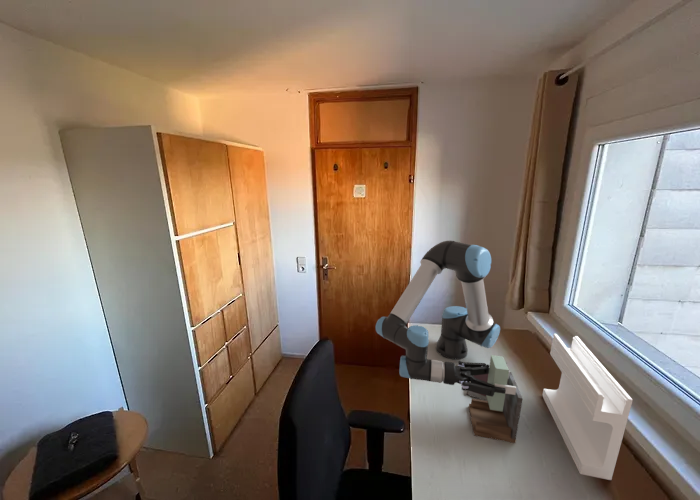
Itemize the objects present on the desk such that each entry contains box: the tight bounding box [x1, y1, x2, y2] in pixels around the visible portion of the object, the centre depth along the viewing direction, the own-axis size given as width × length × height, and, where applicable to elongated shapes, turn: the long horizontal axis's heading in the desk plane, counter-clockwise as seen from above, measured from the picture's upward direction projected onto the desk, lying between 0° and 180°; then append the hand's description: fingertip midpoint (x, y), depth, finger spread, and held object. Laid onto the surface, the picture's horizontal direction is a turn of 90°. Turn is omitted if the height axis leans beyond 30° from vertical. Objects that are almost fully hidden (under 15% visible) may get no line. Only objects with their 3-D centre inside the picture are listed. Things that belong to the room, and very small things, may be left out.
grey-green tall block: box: [486, 354, 510, 412], centre depth 109 cm, size 8×4×16 cm, turn 167°
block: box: [542, 333, 634, 481], centre depth 107 cm, size 35×8×28 cm, turn 166°
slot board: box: [468, 371, 524, 444], centre depth 111 cm, size 14×13×18 cm
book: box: [466, 373, 489, 401], centre depth 132 cm, size 12×19×3 cm, turn 147°
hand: (512, 382), depth 108 cm, fingers closed on grey-green tall block, 8 cm apart
